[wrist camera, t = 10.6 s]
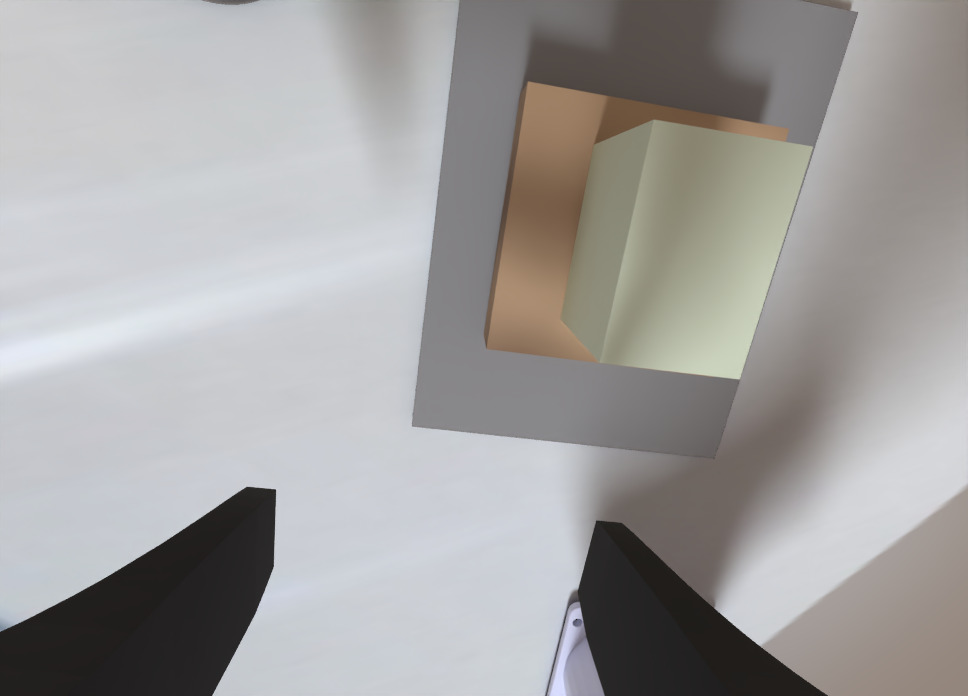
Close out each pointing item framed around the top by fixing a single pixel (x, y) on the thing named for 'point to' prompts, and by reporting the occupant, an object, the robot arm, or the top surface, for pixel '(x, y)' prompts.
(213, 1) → the supplement bottle
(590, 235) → the sage brick
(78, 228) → the top surface
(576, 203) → the walnut base brick
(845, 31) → the grey mat
